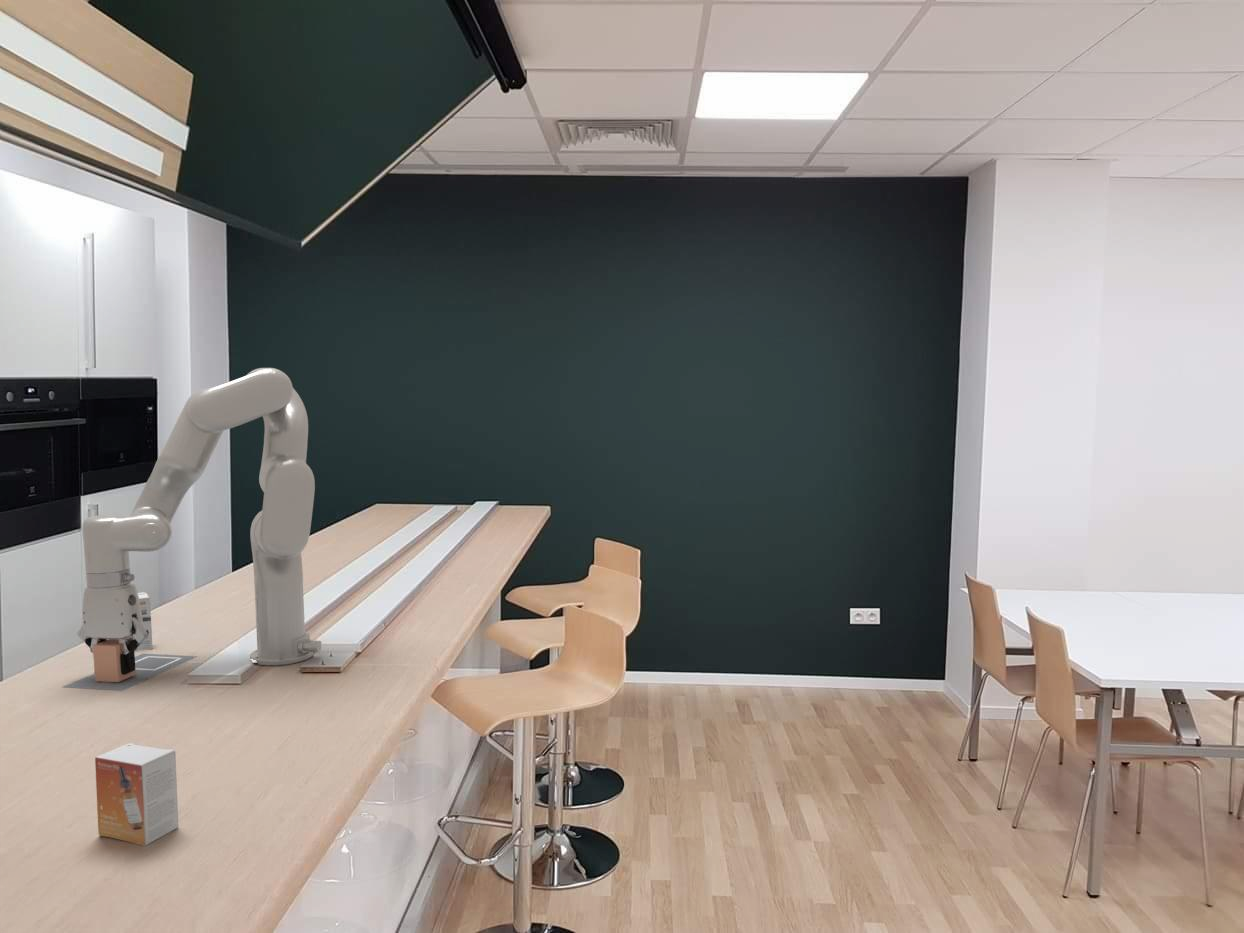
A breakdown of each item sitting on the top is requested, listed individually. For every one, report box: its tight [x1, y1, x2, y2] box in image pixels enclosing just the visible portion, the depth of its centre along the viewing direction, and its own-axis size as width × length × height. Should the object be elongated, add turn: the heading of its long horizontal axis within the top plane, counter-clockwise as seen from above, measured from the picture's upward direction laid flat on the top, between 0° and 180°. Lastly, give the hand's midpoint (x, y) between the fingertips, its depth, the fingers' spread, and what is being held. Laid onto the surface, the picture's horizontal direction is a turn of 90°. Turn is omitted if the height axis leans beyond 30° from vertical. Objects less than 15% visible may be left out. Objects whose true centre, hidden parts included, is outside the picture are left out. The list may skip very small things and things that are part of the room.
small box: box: [94, 742, 179, 847], centre depth 127 cm, size 8×6×10 cm
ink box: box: [107, 591, 153, 652], centre depth 213 cm, size 8×5×12 cm, turn 123°
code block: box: [92, 639, 136, 682], centre depth 191 cm, size 5×5×7 cm
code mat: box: [62, 653, 198, 692], centre depth 197 cm, size 13×23×1 cm, turn 168°
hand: (115, 670), depth 191 cm, fingers closed on code block, 5 cm apart
